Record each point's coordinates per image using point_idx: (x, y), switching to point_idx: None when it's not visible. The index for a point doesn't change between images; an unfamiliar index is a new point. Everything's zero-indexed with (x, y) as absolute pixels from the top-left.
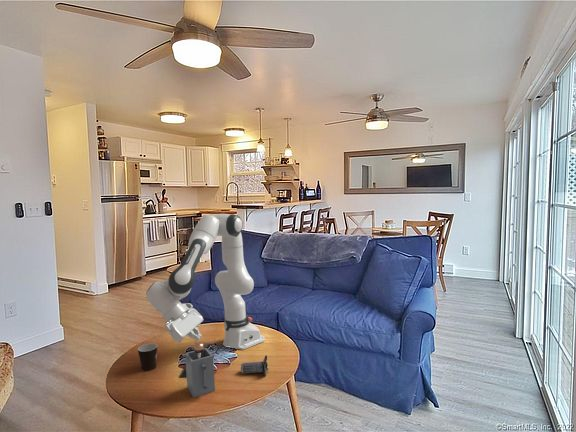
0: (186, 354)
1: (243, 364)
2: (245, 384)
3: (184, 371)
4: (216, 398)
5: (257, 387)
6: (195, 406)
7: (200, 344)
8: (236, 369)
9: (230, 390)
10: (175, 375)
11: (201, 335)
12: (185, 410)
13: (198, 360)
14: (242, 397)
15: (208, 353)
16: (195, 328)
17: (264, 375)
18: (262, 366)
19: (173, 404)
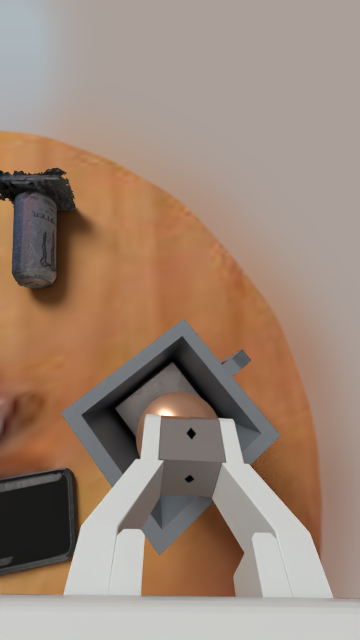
0: (180, 532)
1: (33, 265)
2: (125, 260)
3: (28, 555)
4: (214, 332)
5: (141, 221)
6: (265, 387)
7: (187, 412)
8: (15, 315)
9: (164, 300)
10: (56, 590)
11: (151, 418)
12: (291, 413)
13: (247, 396)
14: (199, 254)
15: (145, 365)
16: (132, 575)
17: (71, 208)
18: (49, 196)
19: (268, 475)
